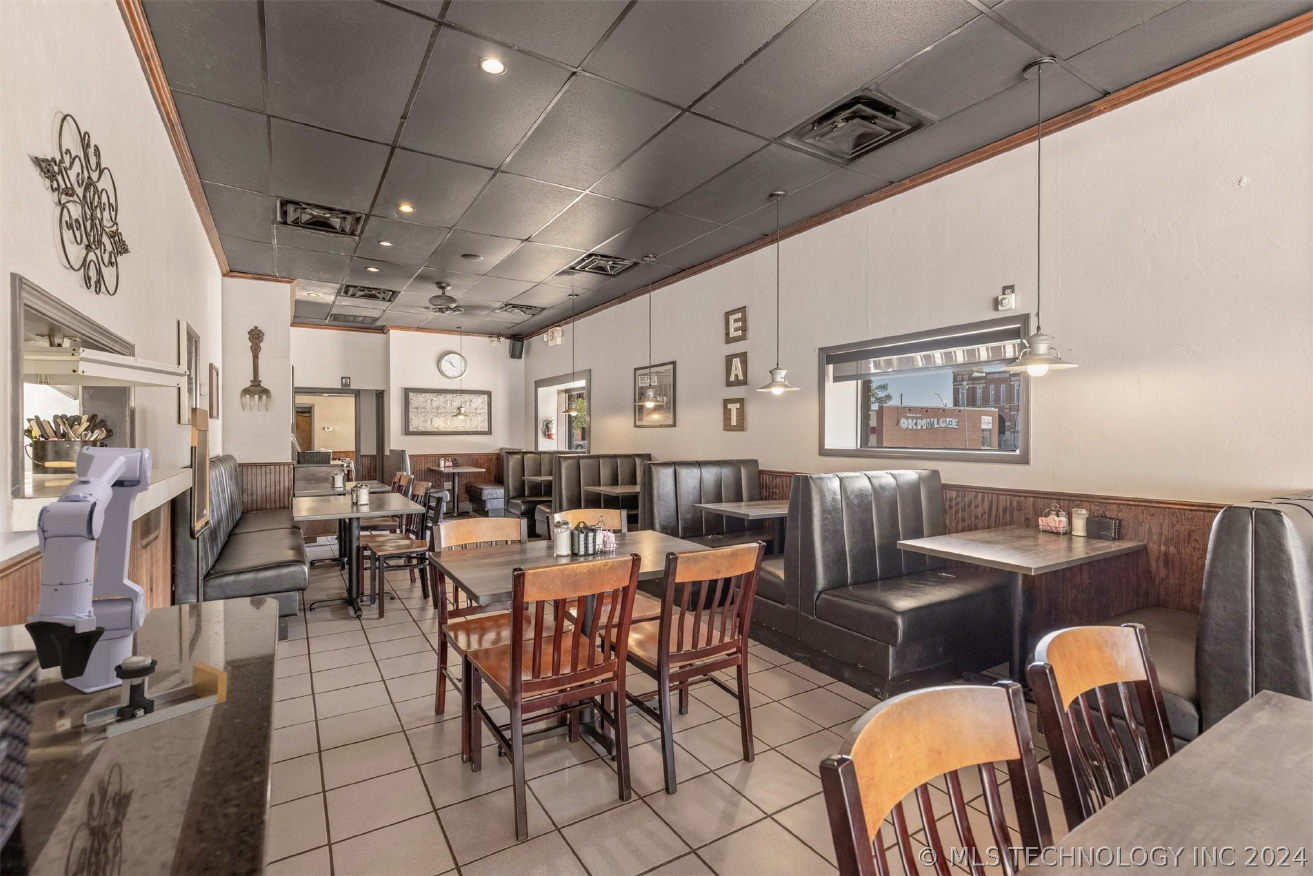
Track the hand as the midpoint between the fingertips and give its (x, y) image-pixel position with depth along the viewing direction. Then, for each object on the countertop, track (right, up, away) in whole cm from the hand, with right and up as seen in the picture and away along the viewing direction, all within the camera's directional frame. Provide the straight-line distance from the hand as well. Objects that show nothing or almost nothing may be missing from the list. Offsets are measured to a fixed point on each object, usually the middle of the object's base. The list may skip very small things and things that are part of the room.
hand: (61, 672), depth 91 cm
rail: (+5, -11, +10) cm, 16 cm away
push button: (+4, -11, +7) cm, 14 cm away
